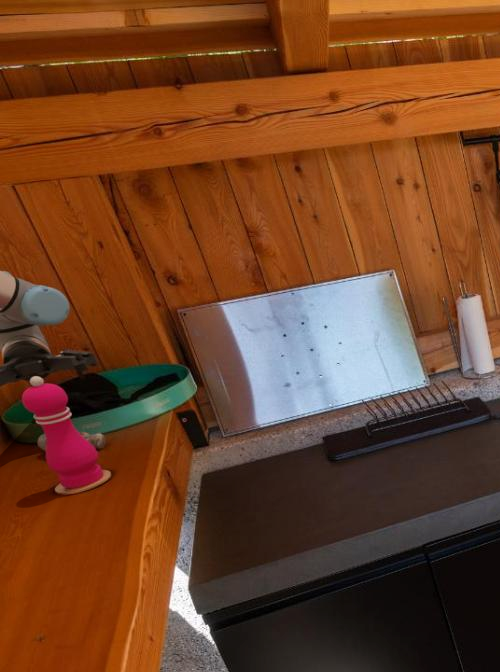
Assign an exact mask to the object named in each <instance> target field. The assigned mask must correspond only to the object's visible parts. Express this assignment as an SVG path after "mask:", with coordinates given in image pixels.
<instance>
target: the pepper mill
mask: <svg viewBox="0 0 500 672" xmlns="http://www.w3.org/2000/svg"><path fill="white" fill-rule="evenodd" d="M44 382H45V381H44V378H43V379H42V378H41V377H38V376H34V377H32V378H31V379H30V381H29V383H30V385H31V386H30V387H28V388H26V389H25V391H23V392H22V396H21V402H22V405H23V406H24V408H25V409H26V410H27V411H28V412H30V413H33V414H34V415H33V419H34V420H35V424H38V425H40V427H41V428H42V430H43V434H45V435H46V451H45V461H46V463H47V467H48V468H49V469H50V470H51V471H53V472H55V473H57V474H59V475H58V476H57V480H58V481H59V484H60V483H61V485H62V486H63V487H65V488H77V487H82V486H86V485H89V484H92V483H94V482H96V481H98V480H99V479H101V478H102V477H103V471H102V470H103V469H102V467H101V465H100V464H98V463H97V462H98V460H99V452H98V451H97V448H95V447H94V446H93V445H92V444H91V443H90V442H89V441H88V440H86V439H85V438H84V437H83V436H82V435H81V434H79V432H80V431H79V432H78V430H77V428H76V427H75V426H74V424H73V421H72V419H71V417H72V415H73V414H72V411H71V410H70V408H69V407H68V406H67V404H68V402H69V397H68V393H66V391H65V389H64V388H62V387H61V386H60V385H57V384H54V383H46V382H45V383H44Z"/></svg>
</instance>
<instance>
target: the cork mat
mask: <svg viewBox="0 0 500 672" xmlns="http://www.w3.org/2000/svg"><path fill="white" fill-rule="evenodd" d="M102 471H103V477H102V478H101V479H99V480H98V481H96V482H94V483H92V484H89V485H86V486H82V487H77V488H65V487H63V486H62V485H61V483H60V482H59V484H57V485H56V486H55V488H54V491H55V493H56V494H58V495H62V496H64V495H65V496H66V495H75V494H79V493H83V492H86V491H88V490H92V489H94V488H97V487H98V486H100V485H103V484H104V483H106V482H107V481H109V480H110V478H111V477H112V472H111V471H110V470H107V469H102Z"/></svg>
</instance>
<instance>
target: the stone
mask: <svg viewBox="0 0 500 672" xmlns="http://www.w3.org/2000/svg"><path fill="white" fill-rule="evenodd" d="M77 431H78V430H77ZM78 432H79V434H81V435H82V436H83V437H84V438H85V439H86V440H88V441H89V442H90V443H91V444H92V445H93V446H94V447H95V449H96V450H102V449H104V448H105V446H106V437H105V436H104V434H102V433H95V434H90V433H89V432H85V431H78ZM37 446H38V447H39V448H40V449H41V450H43V451H45V452H46V435H45V433H43V434H41V435H39V437H38V439H37Z"/></svg>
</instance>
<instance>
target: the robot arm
mask: <svg viewBox="0 0 500 672" xmlns="http://www.w3.org/2000/svg"><path fill="white" fill-rule="evenodd" d="M70 309H71V307H70V303H69V301H68V299H67V296H66V295H64V294H63V292H61V291H60V290H58V289H56V288H54V287H50V286H48V285H41V284H39V285H37V284H34V283H32V282H30V281H26V280H25V279H22V278H19V277H16V276H13V275H12V274H11V273H10V272H9V271H5V270H4V271H3V270H0V352H1V356H2V363H3V364H1V365H0V388H1V387H2V386H5V385H7V384H12V383H17V382H19V381H25V382H30V379H31V378H32V377H34V376H38V377H41V378H42V379H43V380H44V379H45V378H47V377H49V375H50V374H53V373H57V372H59V371H76V373H77V376H78V378H79V379H80V380H84V379H86V376H85V375H84V373H83V372H85V371H89V369H90V368H89V367H98V365H99V361H98V360H97V358H96V356H95V354H94V352H92V351H81V350H72V349H69V348H64V349H61V351H60V352H59V354H58V355H54V354H52V353H51V352H52V351H51V350H50V345H49V342H48V341H47V339H46V337H45V336H44V335H43V333H42V331H41V329H40V327H47V326H57V325H59V324H61V323H63V322H64V321H65V320H67V318H68V316H69V315H70V314H69V313H70Z"/></svg>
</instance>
